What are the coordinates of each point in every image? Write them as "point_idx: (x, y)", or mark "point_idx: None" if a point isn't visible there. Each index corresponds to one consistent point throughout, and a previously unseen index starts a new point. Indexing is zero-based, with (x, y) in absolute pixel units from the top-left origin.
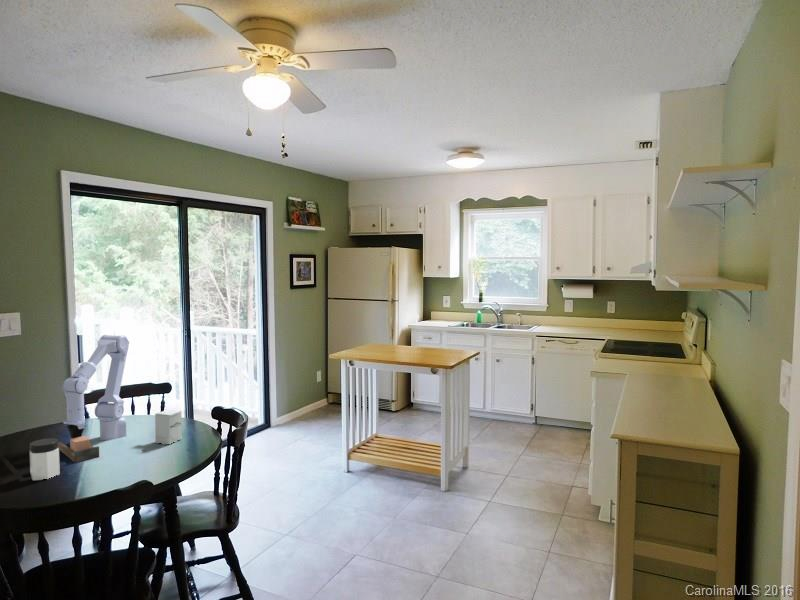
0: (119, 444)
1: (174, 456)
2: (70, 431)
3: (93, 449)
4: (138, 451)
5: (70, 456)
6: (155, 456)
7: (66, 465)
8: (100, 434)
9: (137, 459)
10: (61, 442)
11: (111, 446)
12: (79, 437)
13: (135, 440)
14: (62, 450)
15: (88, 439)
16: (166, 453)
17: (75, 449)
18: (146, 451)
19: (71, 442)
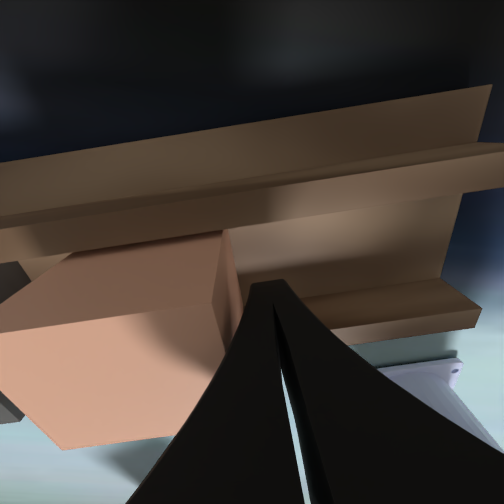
0: (288, 412)
1: (15, 500)
2: (217, 458)
3: None
4: (134, 446)
5: (73, 209)
6: (37, 473)
7: (14, 158)
8: (434, 408)
9: (16, 438)
10: (494, 184)
11: (283, 390)
12: (202, 389)
13: (298, 449)
14: (326, 169)
15: (57, 442)
16: (62, 491)
17: (41, 278)
18: (119, 461)
19: (149, 286)
